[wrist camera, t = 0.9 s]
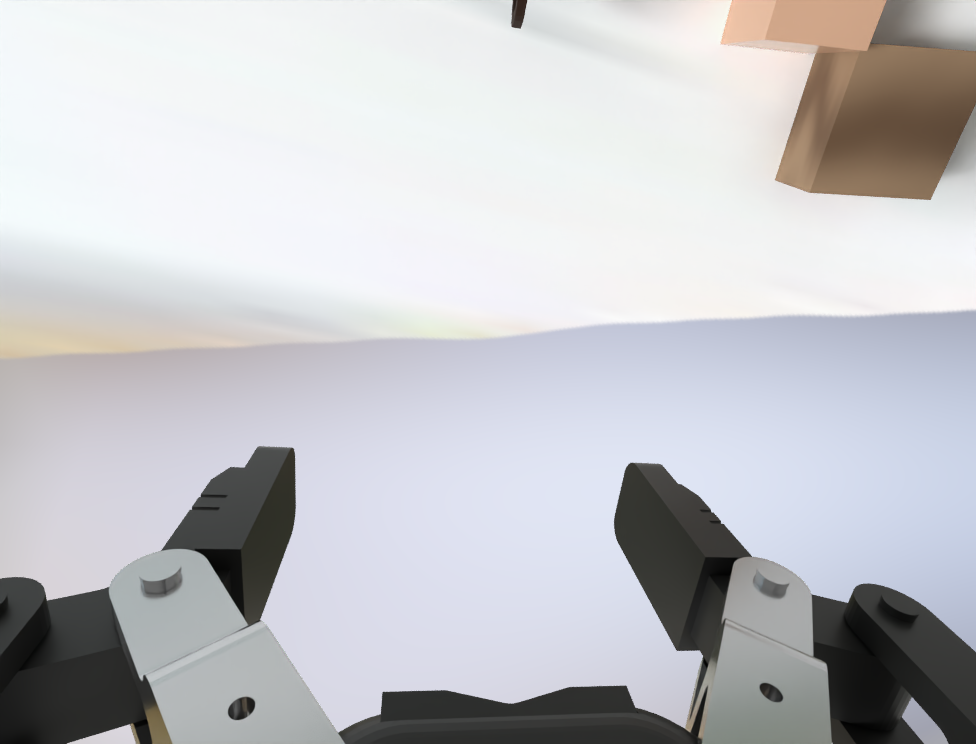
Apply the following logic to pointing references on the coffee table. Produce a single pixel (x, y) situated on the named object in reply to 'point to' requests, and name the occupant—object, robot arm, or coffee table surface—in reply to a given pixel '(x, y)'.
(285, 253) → the coffee table surface
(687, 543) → the robot arm
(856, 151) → the walnut box
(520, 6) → the coffee mug
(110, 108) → the coffee table surface
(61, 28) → the coffee table surface
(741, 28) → the terracotta cube
